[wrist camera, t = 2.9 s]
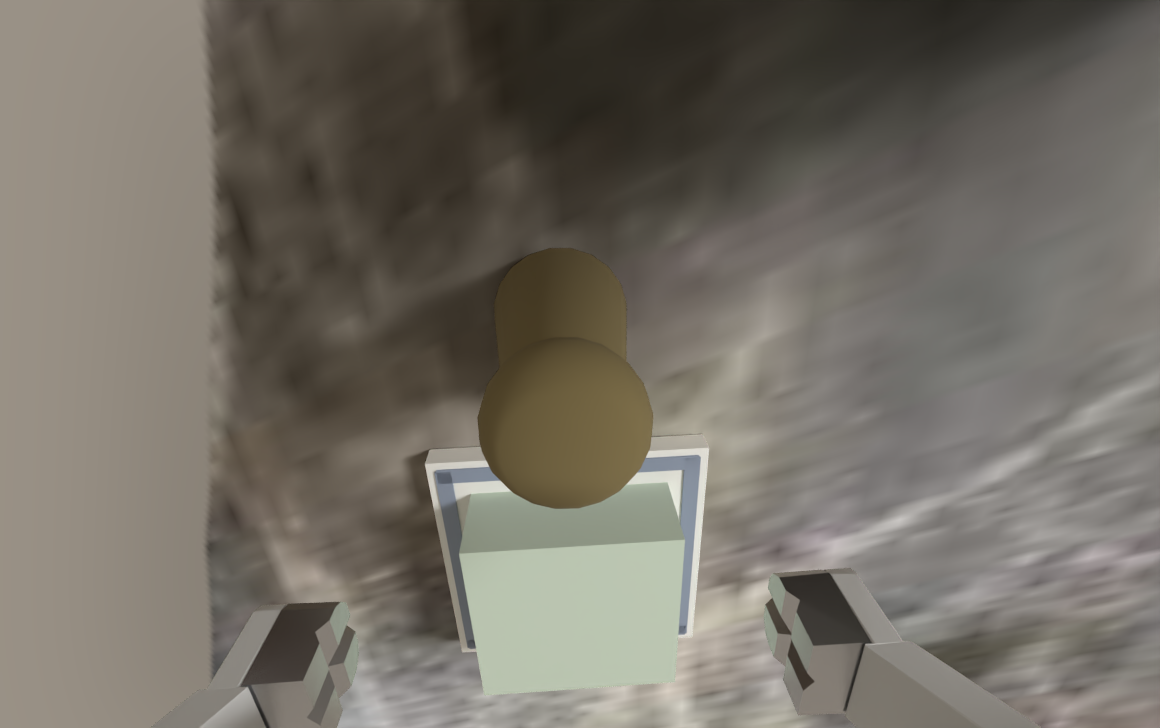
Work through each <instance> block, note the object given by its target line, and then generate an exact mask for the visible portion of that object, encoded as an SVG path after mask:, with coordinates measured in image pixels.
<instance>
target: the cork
mask: <svg viewBox="0 0 1160 728" xmlns="http://www.w3.org/2000/svg"><path fill="white" fill-rule="evenodd" d="M494 313H495V327H496V337H497V348H498V358H499V370H498V371H497V372H496V374H495V375H494V376H493V378H492V379H491V380H490V382H489V383H488V384H487V387H486V390H485V393H484V397H483V400H482V403H481V407H480V411H479V414H478V428H479V440H480V445H481V450H482V453H483V455H484V457H485V459H486V461H487V463H488V465H489V467H490V469H491V471H492V473H493V474H494V475H495V476H496V477H497V478H498V479H499V480H500V481H501V482H502V483H503V484H504V485H505V486H506V487H507V488H508V489H509V490H510V491H512V492H513V493H514V494H516V495H517V496H519V497H521V498H523V499H525V500H527V501H529V502H531V503H533V504H536V505H540V506H545V507H549V508H554V509H573V508H582V507H585V506H589V505H593V504H596V503H600V502H602V501H604V500H605V499H607V498H609V497H611V496H612V495H614V494H616V493H617V492H619V491H620V490H621V489H622V488H623V487H624V486H625V485H626V484H627V483H628V482H629V481H630V480H631V479H632V478H633V477H634V476H635V475H636V473H637V472H638V471H639V470H640V469H641V467H642V465H643V462H644V460H645V458H646V456H647V454H648V452H649V450H650V446H651V437H652V425H653V412H652V409H651V405H650V402H649V399H648V395H647V392H646V389H645V386H644V384H643V382H642V381H641V379H640V378H639V377H638V375H637V374H636V373H635V371H634V370H633V369H632V367H631V366H630V365H629V363H628V362H627V361H626V300H625V297H624V293H623V290H622V286H621V284H620V282H619V281H618V279H617V278H616V276H615V275H614V274H613V272H612V271H611V269H610V268H609V267H608V266H606V265H605V264H604V263H602V262H601V261H600V260H598V259H597V258H595V257H594V256H593V255H591V254H587V253H584V252H581V251H578V250H575V249H572V248H549V249H546V250H543V251H539V252H536V253H533V254H530V255H528V256H527V257H525V258H524V259H522V260H521V261H520V262H518V263H517V264H516V265H514V266H513V267H512V268H511V269H510V270H509V272H508V273H507V274H506V276H505V277H504V279H503V280H502V282H501V283H500V284H499V288H498V291H497V295H496V298H495V302H494Z"/></svg>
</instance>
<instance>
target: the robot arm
mask: <svg viewBox="0 0 1160 728" xmlns="http://www.w3.org/2000/svg"><path fill="white" fill-rule="evenodd" d="M768 589H769V591H770V593H771V596H772V599H771V600H770V601H769V602H768V603H766V604H765V612H764V623H765V632H766V636H767V640H768V643H769V646H770V649H771V651H772V654H773V656H774V657H775V658H776V659H777V660H778V661H779V662H781V663H782V664H783V665H784V666H785V672H784V677H783V680H784V683H785V685H786V688H787V690H788V692H789V695H790V697H791V699H792V702H793V704H794V707H795V709H796V711H797V714H798V715H814V714H837V713H846V714H845V716H846V717H847V718H848V719H849V720H850V721H851V722H852V723H853V724H854V725H855V726H856V727H857V728H1042V727H1040V726H1039V725H1037V724H1036V723H1034V722H1033V721H1031V720H1030V719H1028V718H1027V717H1025V716H1024V715H1022V714H1021V713H1019V712H1018V711H1016V710H1015V709H1013V708H1012V707H1010V706H1008V705H1007V704H1005V703H1004V702H1002V701H1001V700H999V699H998V698H996V697H995V696H993V695H992V694H990V693H989V692H987V691H986V690H984V689H983V688H981V687H980V686H978V685H977V684H975V683H974V682H972V681H971V680H969V679H968V678H966V677H965V676H963V675H962V674H960V673H959V672H957V671H956V670H954V669H953V668H951V667H950V666H948V665H947V664H945V663H944V662H942V661H940V660H939V659H937V658H936V657H934V656H933V655H931V654H930V653H928V652H927V651H925V650H924V649H922V648H921V647H919V646H918V645H916V644H915V643H913V642H912V641H902V639H901V638H900V636H899V635H898V633H897V632H896V630H895V629H894V627H893V626H892V624H891V623H890V622H889V620H888V619H887V617H886V616H885V614H884V613H883V611H882V610H881V608H880V607H879V605H878V604H877V602H876V601H875V600H874V598H873V597H872V595H871V594H870V592H869V591H868V589H867V588H866V586H865V585H864V583H863V582H862V580H861V579H860V577H859V576H858V575H857V573H856V572H855V571H854V570H852V569H851V568H843V569H828V570H811V571H798V572H785V573H773V574H772V576H771V577H770V579H769V585H768ZM349 617H350V613H349V610H348V607H347V604H346V603H345V602H324V603H298V604H281V605H261V606H260V607H259V608H258V609H256V610H255V611H254V612H253V613H252V615H251V616H250V618H249V620H248V621H247V623H246V625H245V626H244V628H243V630H242V631H241V633H240V635H239V636H238V638H237V640H236V641H235V643H234V645H233V646H232V648H231V650H230V651H229V653H228V655H227V656H226V658H225V660H224V661H223V663H222V665H221V666H220V668H219V670H218V671H217V673H216V675H215V676H214V678H213V680H212V681H211V683H210V685H209V686H208V688H207V689H204V690H197V691H196V692H195V693H194V694H193V695H191V696H190V697H189V698H187V699H186V700H185V701H184V702H182V703H181V704H180V705H179V706H177V707H176V708H175V709H173V710H172V711H171V712H169V713H168V714H167V715H166V716H164V717H163V718H162V719H161V720H159V721H158V722H157V723H156V724H154V725H153V726H152V727H151V728H337V726H338V723H339V720H340V717H341V714H342V711H343V710H342V707H341V704H340V701H339V698H340V697H341V696H342V695H343V694H344V693H345V692H346V691H347V690H348V689H349V688H350V687H351V685H352V682H353V679H354V676H355V673H356V670H357V663H358V656H359V648H358V639H357V636H356V632H355V631H354V630H352V629H351V628H350V627H348V626H347V622H348V620H349Z"/></svg>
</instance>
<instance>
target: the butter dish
mask: <svg viewBox="0 0 1160 728" xmlns="http://www.w3.org/2000/svg"><path fill="white" fill-rule="evenodd" d="M708 454H709V446H708V444H707V442H706V440H705V438H704V435H703V434H697V435H679V436H662V437H651V446H650V450H649V452H648V454H647V456H646V458H645V460H644V462H643V465H642V467H641V469H640V470H639V471H638V472H637V473H636V475H635V476H634V477H633V478H632V479H631V480H630V481H629V482H628V483H627V484H626V485H625V486H624V487H623V488H622V489H621V490H620V491H619V492H617V493H616V494H614V495H612V496H611V497H609V498H607V499H605V500H604V501H602V502H600V503H596V504H593V505H589V506H585V507H582V508H573V509H554V508H549V507H545V506H540V505H536V504H533V503H531V502H529V501H527V500H525V499H523V498H521V497H519V496H517V495H516V494H514V493H513V492H512V491H510V490H509V489H508V488H507V487H506V486H505V485H504V484H503V483H502V482H501V481H500V480H499V479H498V478H497V477H496V476H495V475H494V474H493V473H492V471H491V469H490V467H489V465H488V463H487V461H486V459H485V457H484V455H483V453H482V450H481V447H466V448H448V449H431V450H429V453H428V456H427V459H426V462H425V467H426V472H427V477H428V482H429V487H430V493H431V498H432V503H433V508H434V513H435V518H436V523H437V528H438V533H439V538H440V543H441V548H442V553H443V558H444V563H445V568H446V573H447V578H448V583H449V588H450V593H451V598H452V603H453V608H454V613H455V618H456V623H457V628H458V634H459V639H460V644H461V649H462V652H477V656H478V662H479V668H480V673H481V679H482V684H483V690H484V695H498V694H512V693H527V692H541V691H555V690H569V689H584V688H598V687H612V686H626V685H641V684H655V683H669V682H675V674H676V660H677V646H678V638H684V637H692V634H693V623H694V612H695V601H696V589H697V578H698V567H699V556H700V544H701V533H702V522H703V511H704V499H705V488H706V477H707V465H708Z"/></svg>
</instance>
